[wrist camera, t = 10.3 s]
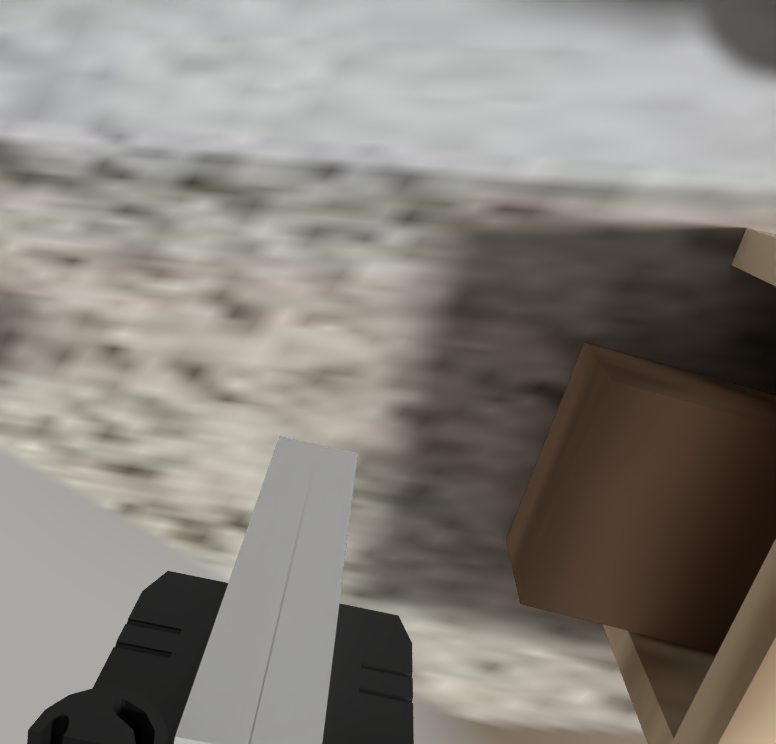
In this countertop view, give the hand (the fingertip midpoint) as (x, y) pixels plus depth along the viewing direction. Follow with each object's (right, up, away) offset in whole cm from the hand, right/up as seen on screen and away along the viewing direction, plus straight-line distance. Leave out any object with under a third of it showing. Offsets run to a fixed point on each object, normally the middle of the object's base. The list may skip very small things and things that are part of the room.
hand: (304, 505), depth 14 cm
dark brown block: (+13, -2, +12) cm, 18 cm away
